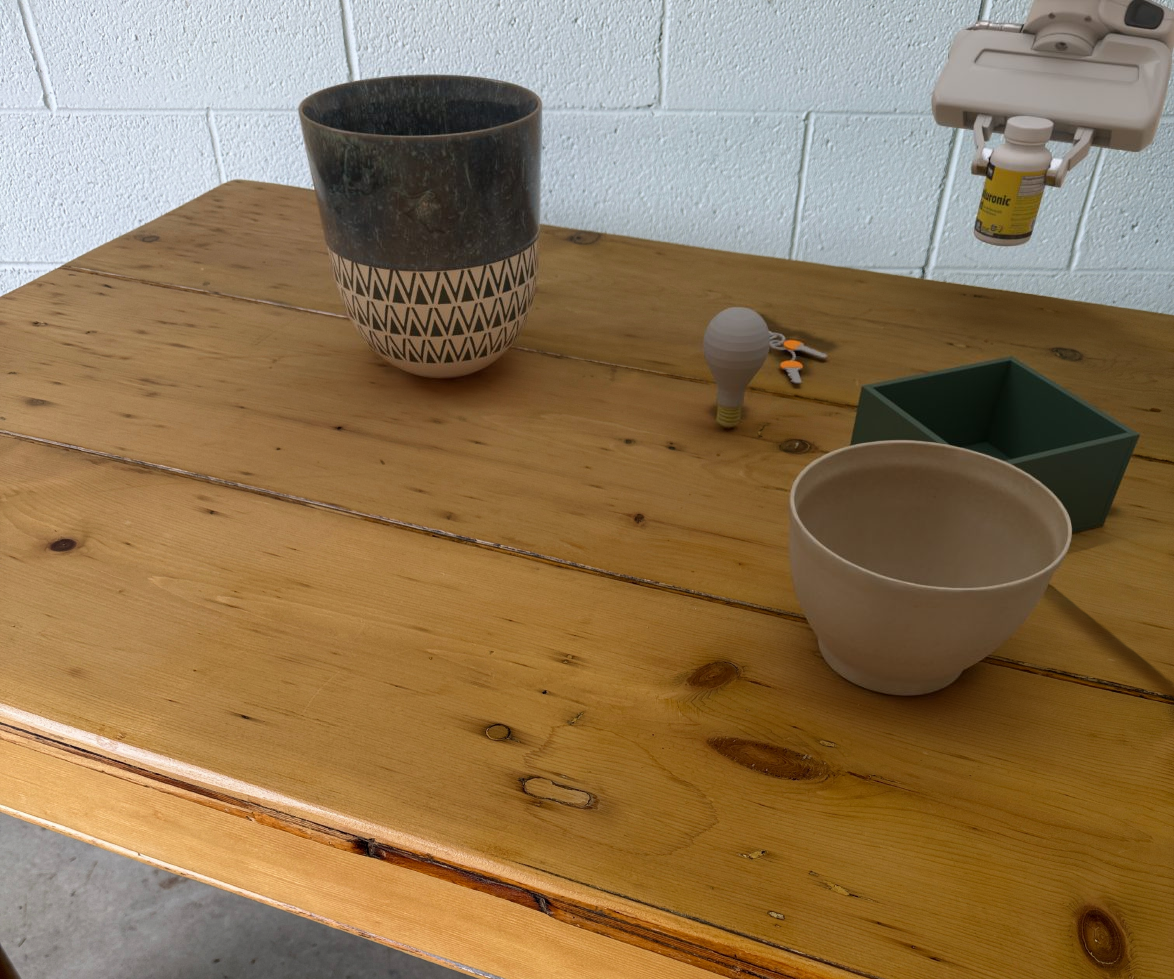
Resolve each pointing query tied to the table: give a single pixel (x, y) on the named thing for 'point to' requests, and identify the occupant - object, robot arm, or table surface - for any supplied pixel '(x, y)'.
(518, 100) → the planter
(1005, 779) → the table surface
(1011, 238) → the supplement bottle
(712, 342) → the light bulb
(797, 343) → the key chain
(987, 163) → the robot arm
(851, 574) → the planter bowl
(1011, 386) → the bin
